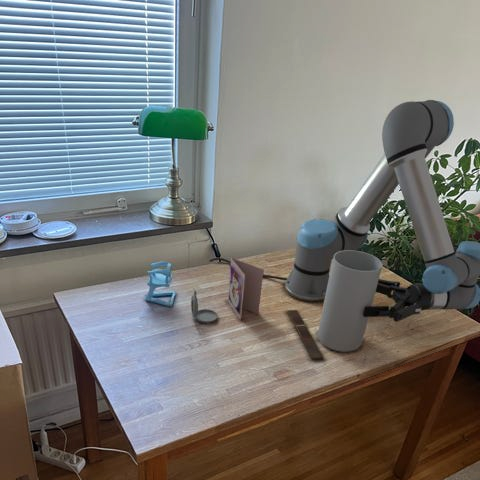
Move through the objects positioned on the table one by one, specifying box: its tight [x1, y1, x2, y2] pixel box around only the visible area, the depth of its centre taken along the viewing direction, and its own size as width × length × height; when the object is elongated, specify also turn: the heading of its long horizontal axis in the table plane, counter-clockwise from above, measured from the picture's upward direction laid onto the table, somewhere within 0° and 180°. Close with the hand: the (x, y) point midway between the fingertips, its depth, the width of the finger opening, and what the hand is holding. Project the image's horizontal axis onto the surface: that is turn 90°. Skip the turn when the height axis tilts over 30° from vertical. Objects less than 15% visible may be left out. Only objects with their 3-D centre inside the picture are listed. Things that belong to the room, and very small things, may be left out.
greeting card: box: [227, 257, 265, 321], centre depth 140 cm, size 11×7×15 cm, turn 21°
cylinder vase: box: [317, 250, 384, 353], centre depth 128 cm, size 12×12×25 cm
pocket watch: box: [190, 287, 218, 324], centre depth 136 cm, size 8×8×10 cm
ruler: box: [286, 309, 324, 361], centre depth 135 cm, size 24×3×1 cm, turn 11°
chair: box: [145, 261, 176, 307], centre depth 142 cm, size 8×8×12 cm
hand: (354, 298), depth 127 cm, fingers open, 13 cm apart
